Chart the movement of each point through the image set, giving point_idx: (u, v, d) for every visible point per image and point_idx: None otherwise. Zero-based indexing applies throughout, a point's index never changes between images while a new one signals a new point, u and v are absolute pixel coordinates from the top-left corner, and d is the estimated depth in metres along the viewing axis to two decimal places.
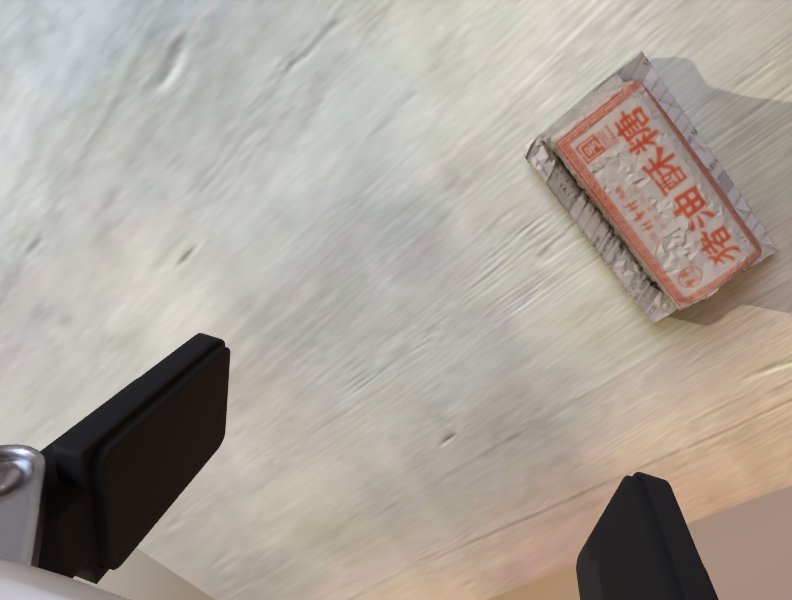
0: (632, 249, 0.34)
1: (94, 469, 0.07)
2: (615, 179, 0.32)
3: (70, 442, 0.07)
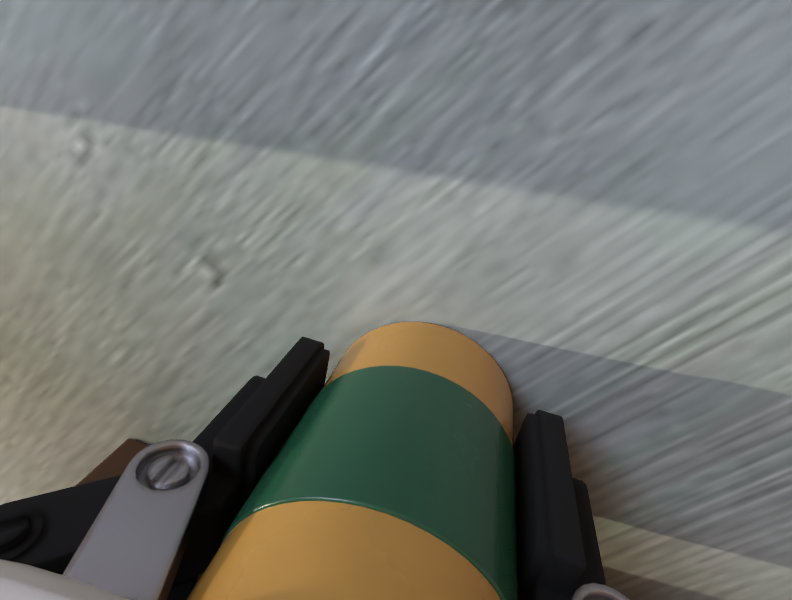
0: None
1: (247, 462, 0.08)
2: None
3: (228, 437, 0.08)
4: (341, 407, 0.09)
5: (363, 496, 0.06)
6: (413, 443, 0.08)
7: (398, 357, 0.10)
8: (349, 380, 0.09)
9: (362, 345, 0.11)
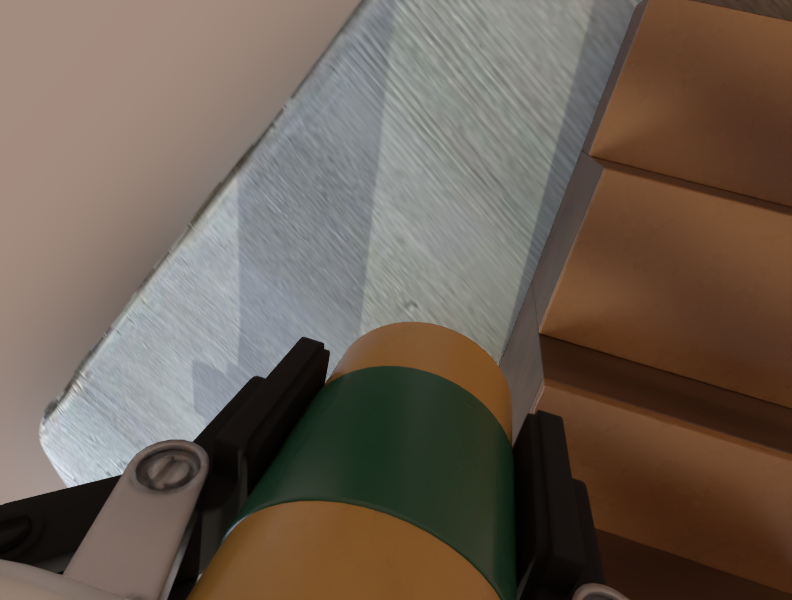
0: None
1: (247, 462, 0.08)
2: None
3: (228, 437, 0.08)
4: (340, 407, 0.09)
5: (363, 497, 0.06)
6: (413, 443, 0.08)
7: (397, 357, 0.10)
8: (349, 380, 0.09)
9: (362, 345, 0.11)
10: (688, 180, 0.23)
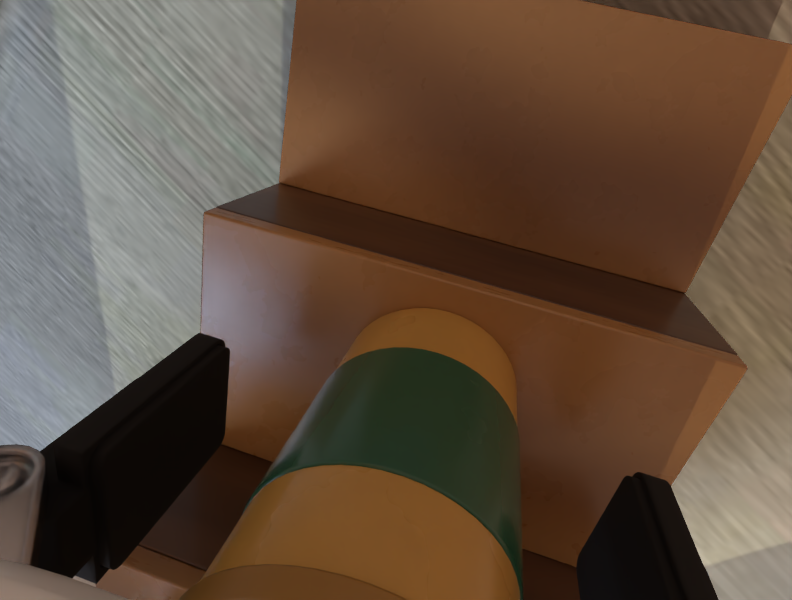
0: None
1: (94, 469, 0.07)
2: None
3: (70, 442, 0.07)
4: (356, 384, 0.09)
5: (380, 460, 0.07)
6: (424, 416, 0.08)
7: (408, 339, 0.10)
8: (362, 361, 0.10)
9: (373, 330, 0.12)
10: (407, 217, 0.16)
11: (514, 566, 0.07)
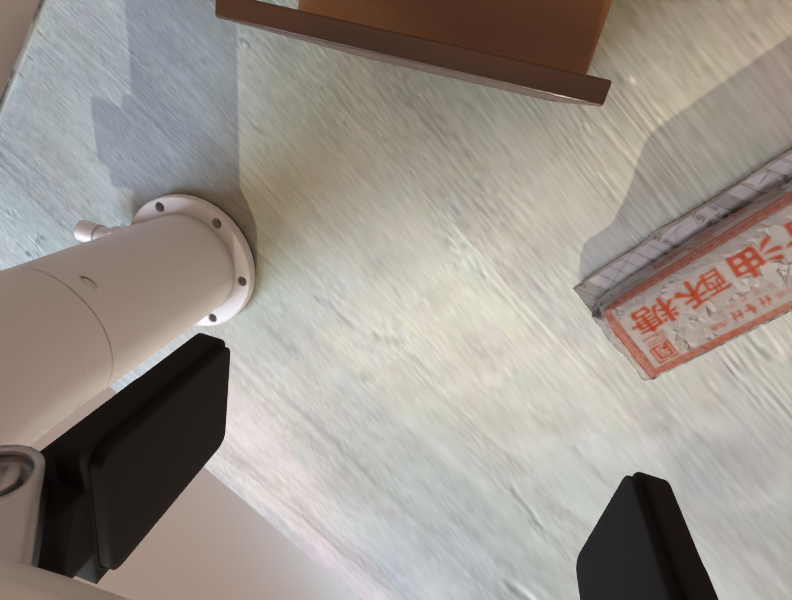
0: None
1: (94, 469, 0.07)
2: (701, 330, 0.32)
3: (70, 442, 0.07)
4: None
5: None
6: None
7: None
8: None
9: None
10: None
11: None
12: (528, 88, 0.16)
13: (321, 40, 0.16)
